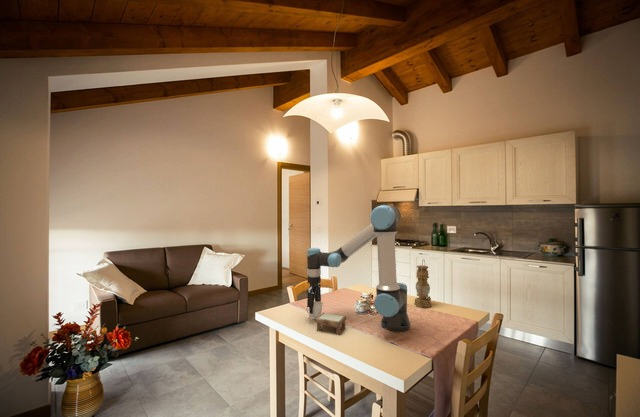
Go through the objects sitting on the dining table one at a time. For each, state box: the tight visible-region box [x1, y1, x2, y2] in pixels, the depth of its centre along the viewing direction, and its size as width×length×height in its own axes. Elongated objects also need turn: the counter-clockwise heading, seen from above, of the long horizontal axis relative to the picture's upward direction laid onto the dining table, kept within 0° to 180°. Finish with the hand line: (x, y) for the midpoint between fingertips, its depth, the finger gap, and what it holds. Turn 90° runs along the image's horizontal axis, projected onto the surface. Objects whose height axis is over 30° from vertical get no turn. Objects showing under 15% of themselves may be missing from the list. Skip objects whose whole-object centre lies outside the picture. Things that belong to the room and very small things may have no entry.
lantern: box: [414, 259, 432, 308], centre depth 196 cm, size 15×10×30 cm
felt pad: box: [319, 312, 345, 322], centre depth 157 cm, size 11×8×1 cm
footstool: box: [315, 312, 347, 335], centre depth 157 cm, size 13×10×6 cm
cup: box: [306, 301, 323, 320], centre depth 170 cm, size 7×10×8 cm
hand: (314, 316), depth 170 cm, fingers closed on cup, 7 cm apart
